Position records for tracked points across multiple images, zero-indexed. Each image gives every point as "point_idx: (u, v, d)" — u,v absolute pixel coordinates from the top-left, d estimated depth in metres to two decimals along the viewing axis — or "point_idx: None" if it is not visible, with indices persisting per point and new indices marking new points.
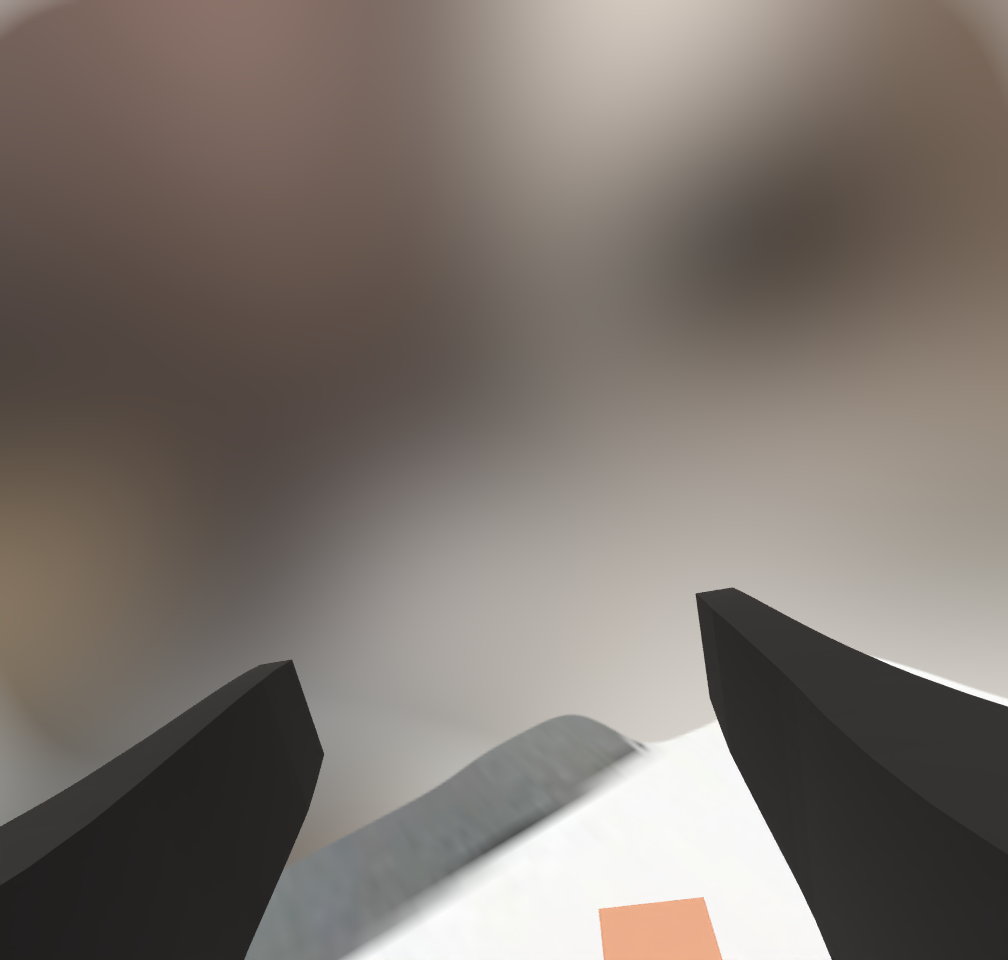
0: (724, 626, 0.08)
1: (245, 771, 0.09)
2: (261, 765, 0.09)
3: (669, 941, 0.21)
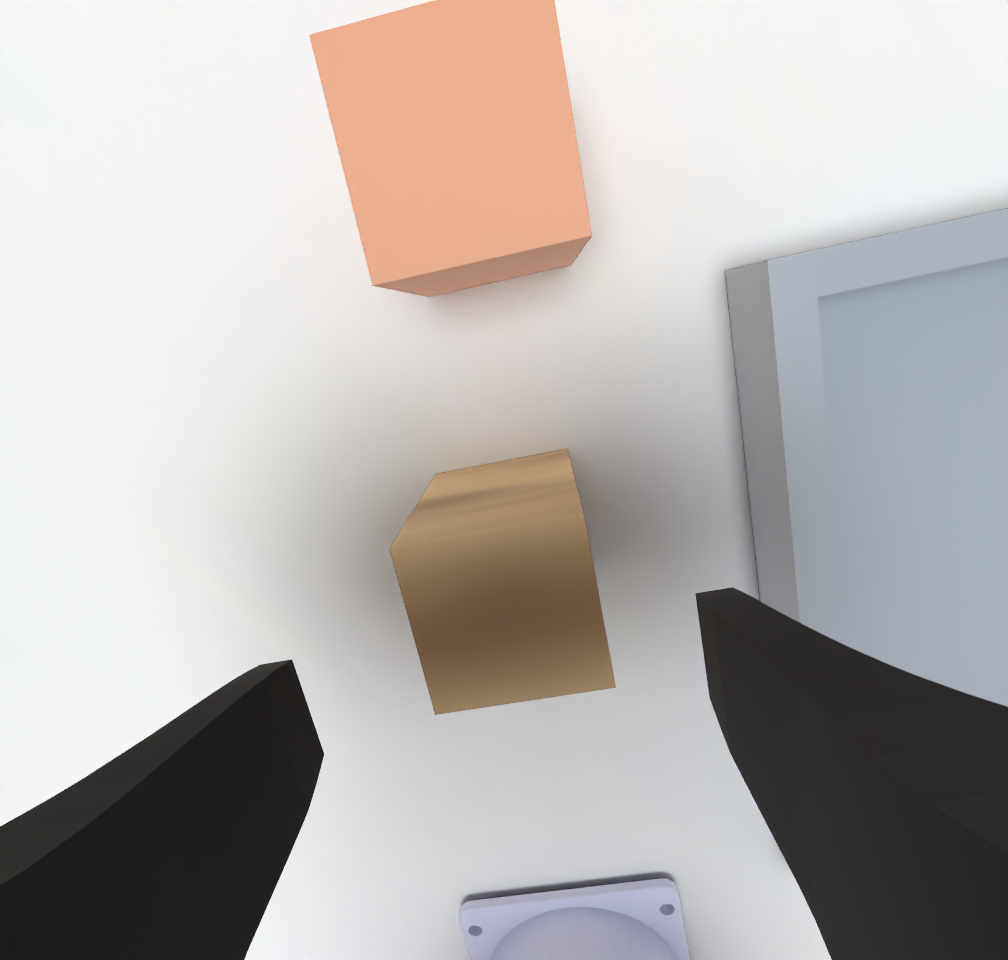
0: (724, 626, 0.08)
1: (244, 771, 0.09)
2: (261, 765, 0.09)
3: (471, 104, 0.10)
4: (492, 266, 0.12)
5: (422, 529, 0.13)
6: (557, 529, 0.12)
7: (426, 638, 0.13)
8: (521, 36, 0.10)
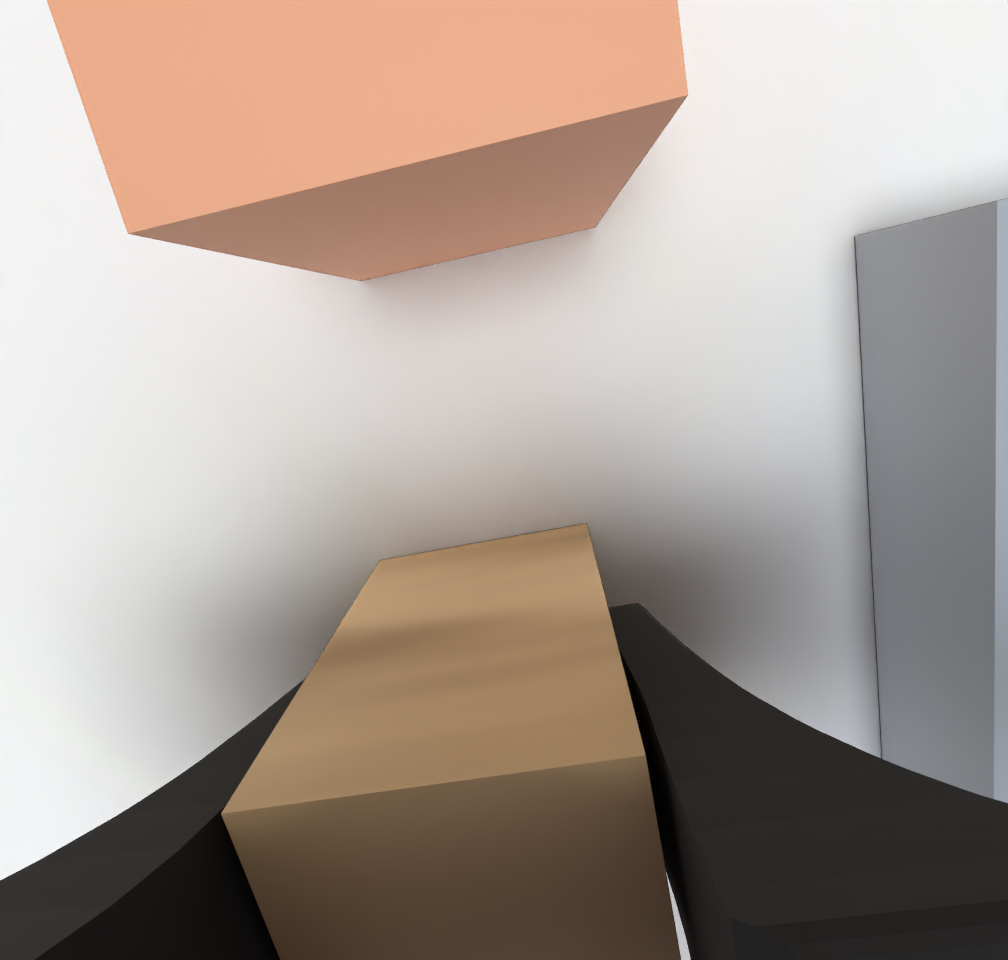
0: None
1: None
2: None
3: None
4: (443, 202, 0.05)
5: (308, 745, 0.06)
6: (585, 785, 0.05)
7: None
8: None
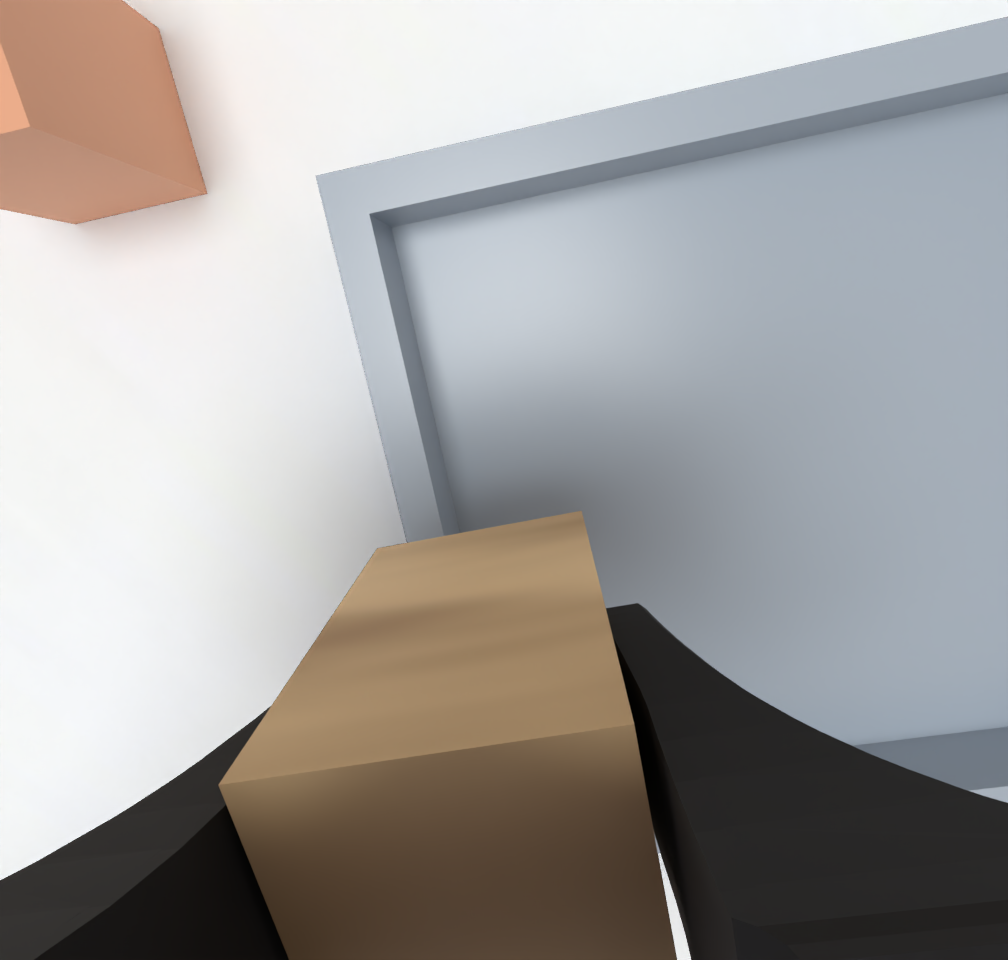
0: None
1: None
2: None
3: None
4: (5, 169, 0.12)
5: (304, 720, 0.06)
6: (575, 756, 0.05)
7: (308, 947, 0.06)
8: None
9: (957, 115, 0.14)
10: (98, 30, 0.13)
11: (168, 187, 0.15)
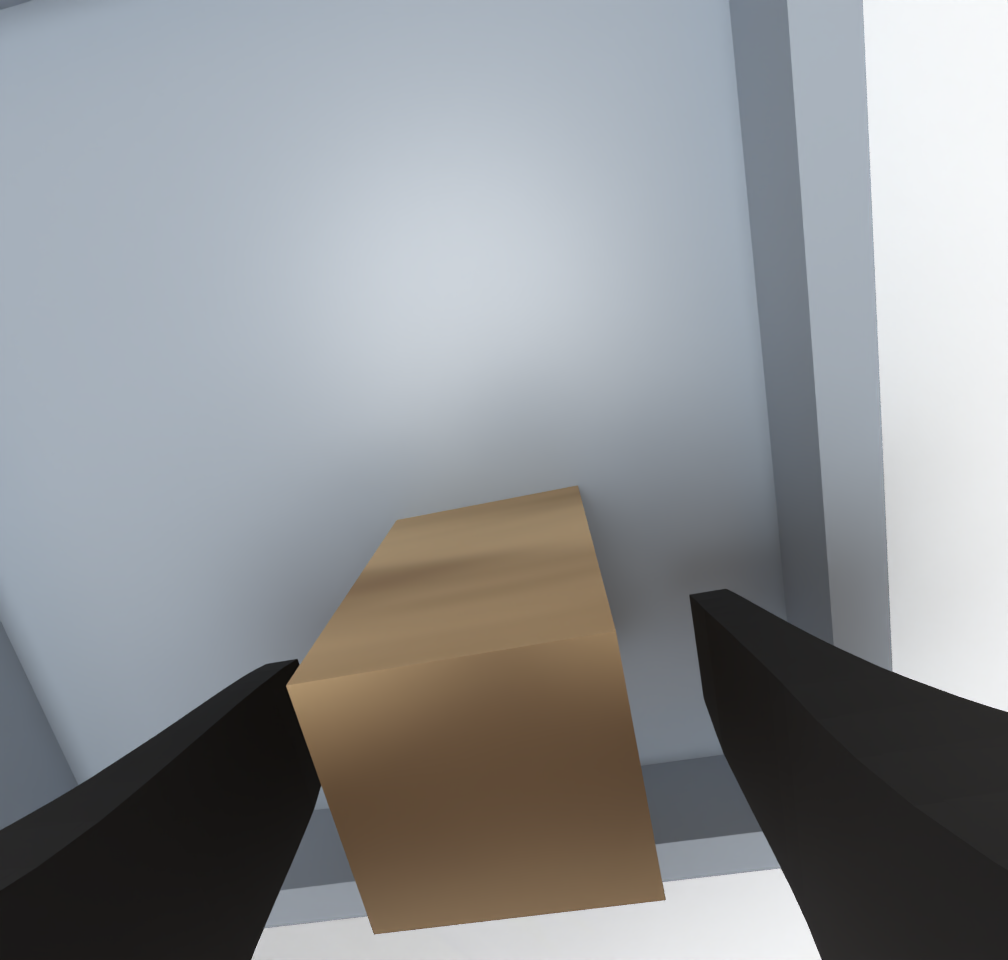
0: (717, 627, 0.08)
1: (251, 770, 0.09)
2: (268, 764, 0.09)
3: None
4: None
5: (350, 642, 0.08)
6: (570, 657, 0.07)
7: (355, 823, 0.08)
8: None
9: None
10: None
11: None
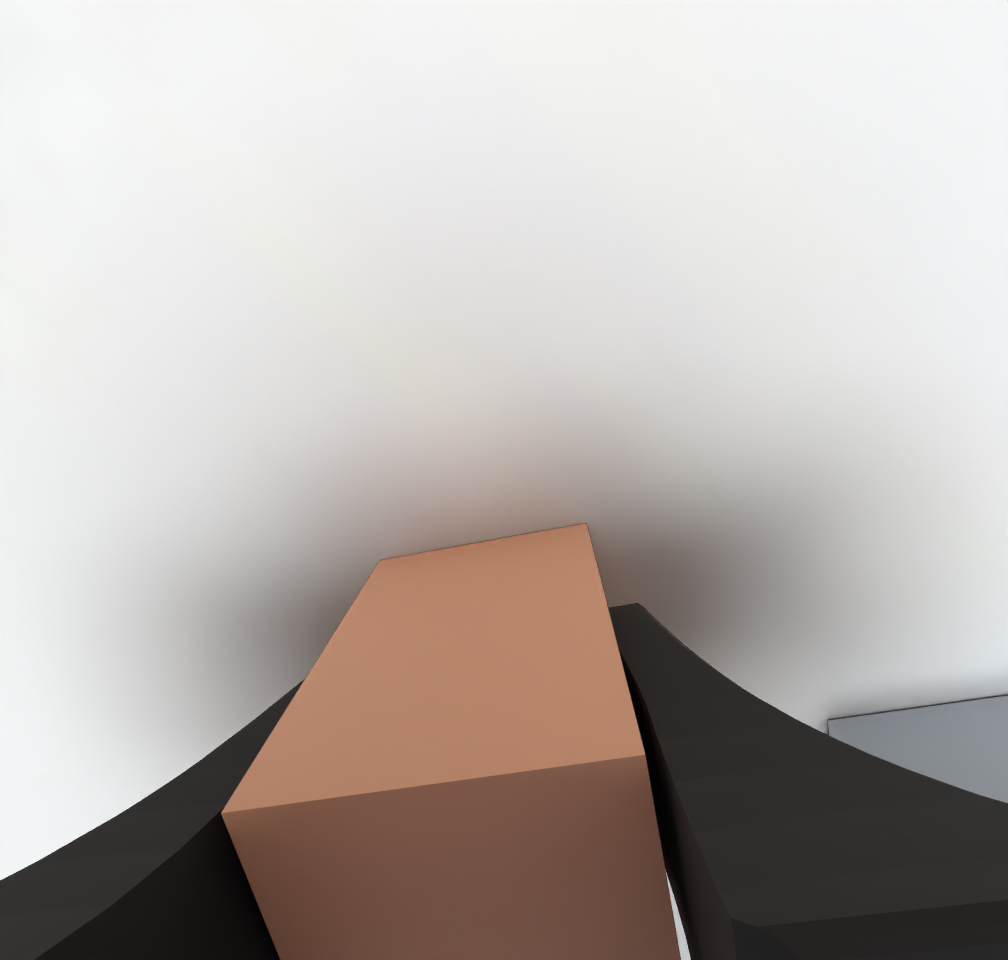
0: None
1: None
2: None
3: (502, 910, 0.06)
4: None
5: None
6: None
7: None
8: (592, 836, 0.05)
9: None
10: None
11: None
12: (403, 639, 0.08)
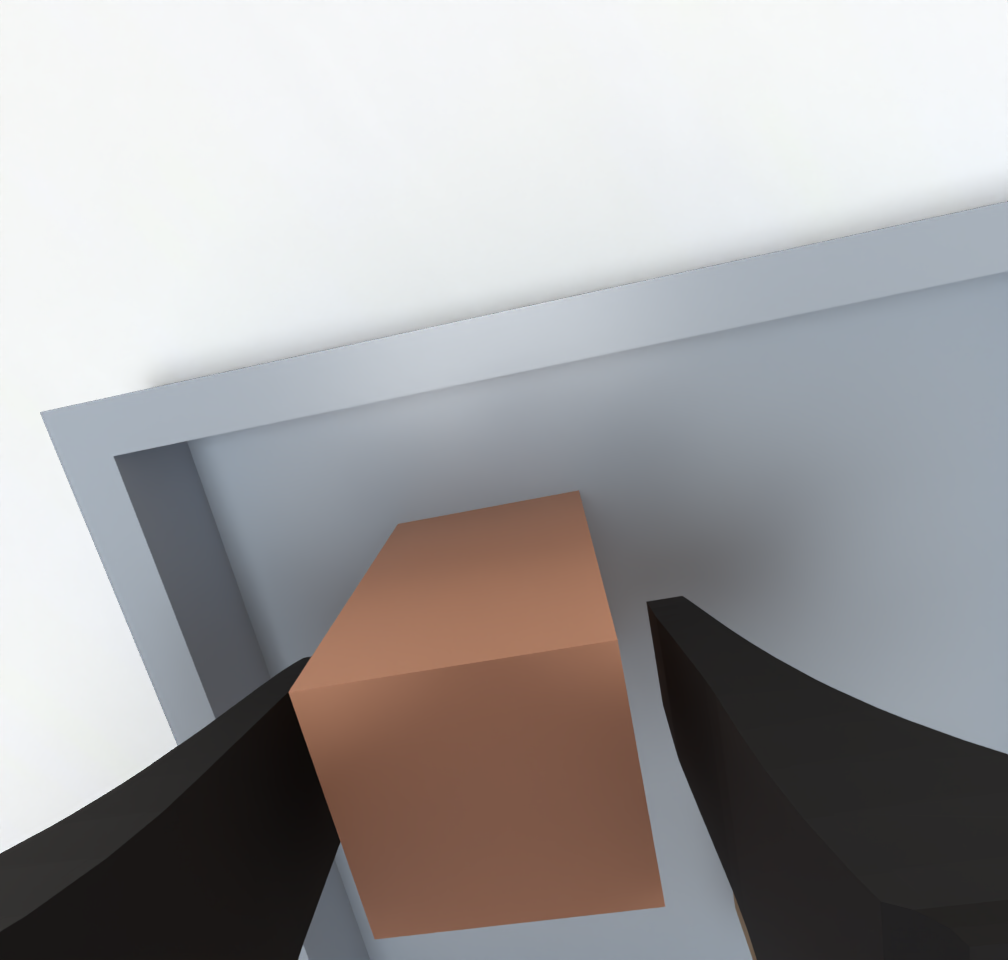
0: (666, 635, 0.08)
1: (297, 763, 0.09)
2: (311, 758, 0.09)
3: (507, 771, 0.07)
4: None
5: None
6: None
7: None
8: (577, 707, 0.07)
9: (874, 302, 0.11)
10: None
11: None
12: (424, 578, 0.10)
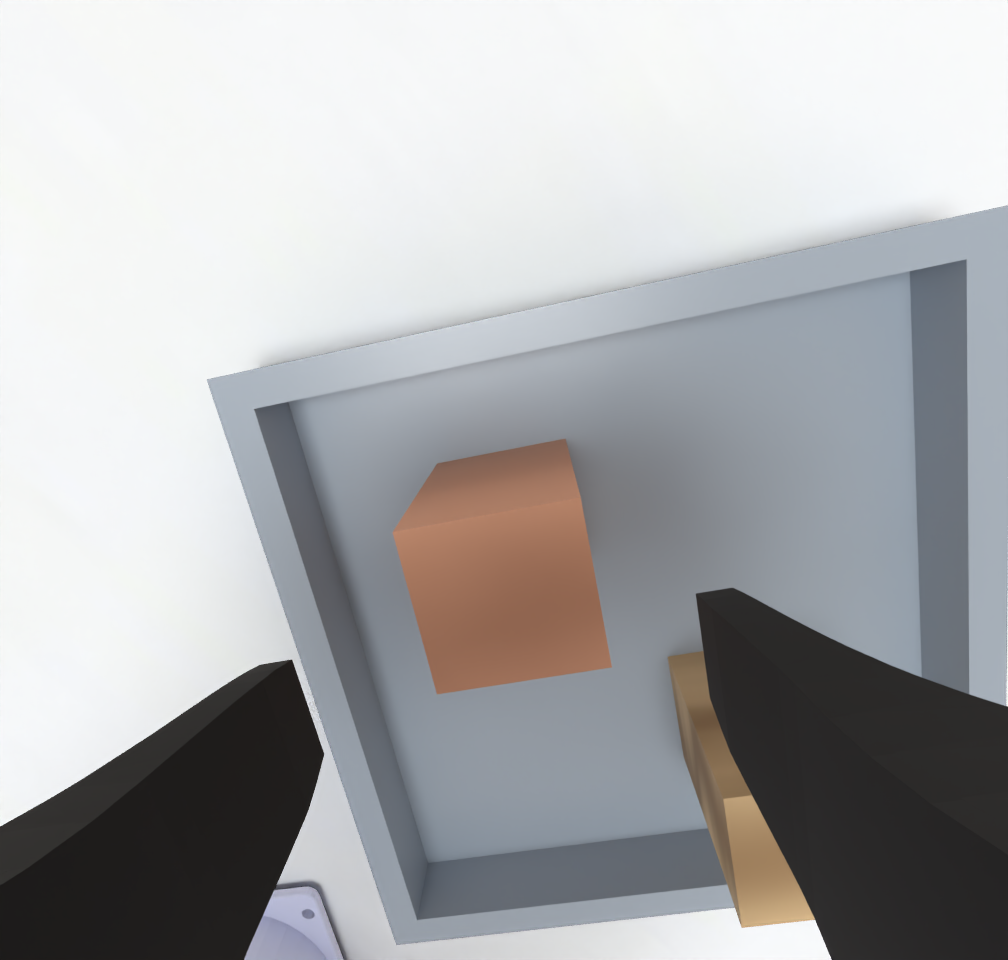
0: (724, 626, 0.08)
1: (245, 771, 0.09)
2: (261, 765, 0.09)
3: (518, 580, 0.13)
4: None
5: (736, 770, 0.15)
6: None
7: (744, 868, 0.14)
8: (558, 539, 0.12)
9: (765, 306, 0.17)
10: None
11: None
12: (462, 485, 0.15)
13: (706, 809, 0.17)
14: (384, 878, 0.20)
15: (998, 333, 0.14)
